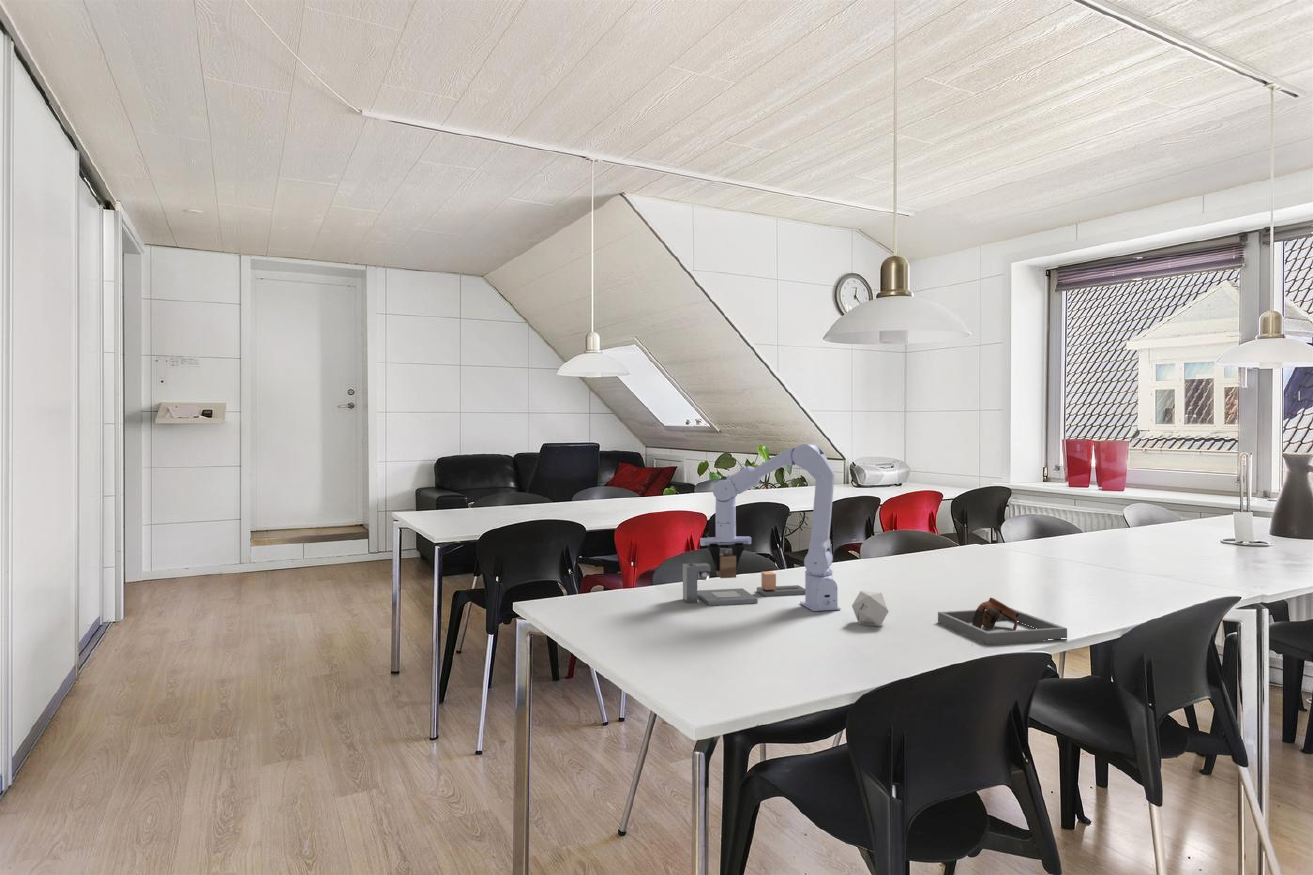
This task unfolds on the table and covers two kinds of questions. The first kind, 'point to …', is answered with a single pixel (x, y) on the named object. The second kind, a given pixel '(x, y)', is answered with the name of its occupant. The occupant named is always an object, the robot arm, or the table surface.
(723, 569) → the block
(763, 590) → the base
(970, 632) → the tray
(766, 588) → the peach small block
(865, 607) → the die
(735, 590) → the press
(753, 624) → the table surface
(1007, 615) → the brown arched piece
